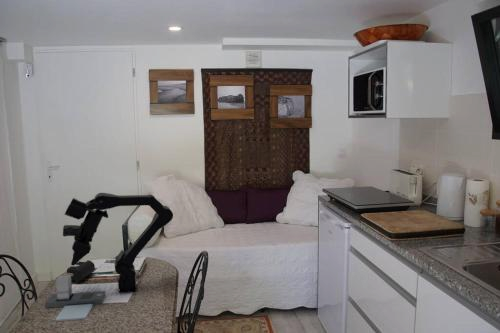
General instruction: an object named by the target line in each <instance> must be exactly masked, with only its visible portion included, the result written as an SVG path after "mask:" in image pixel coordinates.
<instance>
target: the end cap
mask: <svg viewBox="0 0 500 333" xmlns="http://www.w3.org/2000/svg"><path fill="white" fill-rule="evenodd" d="M95 269H96V266H95V264H94V262H93V261H91V260H86V261H78V262H77V263H76V264H75V265H71V266H70V267H68V268H66V273H67V274H72V275H71V284H78V283H80V282H81V281H83V280H84V279H86V278H87V277H89V276H90V275H91V274H93V273H94V271H95ZM90 273H91V274H90ZM89 274H90V275H89ZM88 275H89V276H88Z"/></svg>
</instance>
